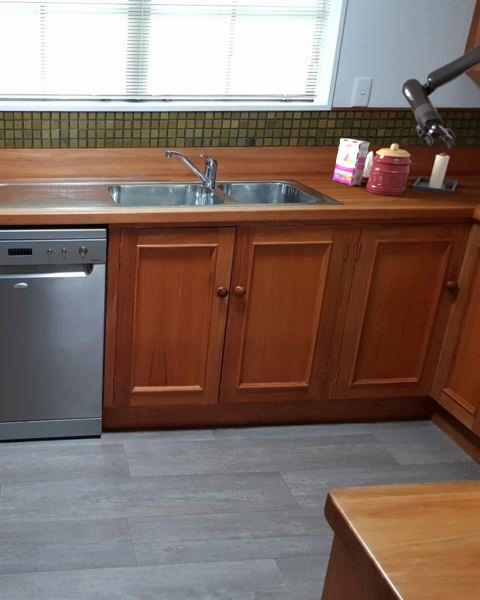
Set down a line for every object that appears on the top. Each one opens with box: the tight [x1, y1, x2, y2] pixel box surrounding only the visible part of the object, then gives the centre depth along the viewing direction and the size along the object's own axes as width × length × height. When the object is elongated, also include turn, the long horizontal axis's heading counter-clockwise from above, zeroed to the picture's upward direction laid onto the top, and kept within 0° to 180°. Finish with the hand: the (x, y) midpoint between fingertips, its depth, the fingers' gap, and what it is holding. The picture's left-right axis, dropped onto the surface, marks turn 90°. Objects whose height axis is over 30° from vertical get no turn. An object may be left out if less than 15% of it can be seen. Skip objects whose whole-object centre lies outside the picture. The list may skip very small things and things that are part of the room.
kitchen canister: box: [365, 143, 412, 197], centre depth 221 cm, size 13×13×18 cm
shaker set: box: [362, 151, 374, 180], centre depth 244 cm, size 12×4×11 cm, turn 108°
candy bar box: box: [332, 138, 371, 187], centre depth 235 cm, size 11×5×16 cm, turn 17°
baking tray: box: [411, 176, 459, 195], centre depth 234 cm, size 14×22×2 cm, turn 146°
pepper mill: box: [429, 152, 450, 188], centre depth 232 cm, size 4×4×13 cm
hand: (442, 145), depth 230 cm, fingers open, 8 cm apart
